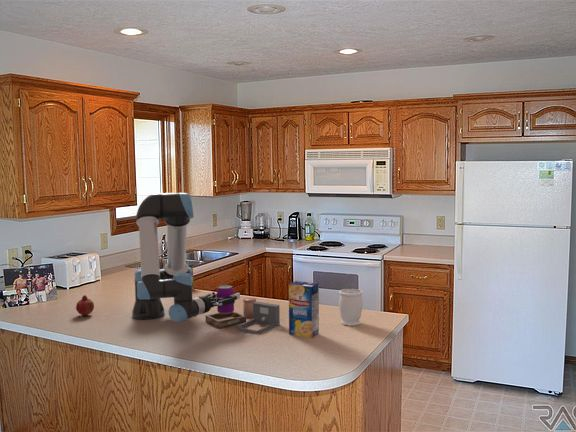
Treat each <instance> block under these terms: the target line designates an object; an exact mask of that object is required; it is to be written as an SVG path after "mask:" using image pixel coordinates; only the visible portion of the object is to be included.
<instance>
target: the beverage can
mask: <svg viewBox="0 0 576 432" xmlns="http://www.w3.org/2000/svg"><path fill="white" fill-rule="evenodd" d="M234 292H235V291H234V288H233V286H232V285H229V284H228V285H227V284H224V285H219V286H217V291H216V293H217V298H224V297H230V295H233V294H235V293H234ZM216 308H217V313H220V314H230V313H232V312H233V311H235V303H233V304H229V305H225V306H222V307H219V306H216Z"/></svg>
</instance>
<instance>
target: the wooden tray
mask: <svg viewBox="0 0 576 432" xmlns="http://www.w3.org/2000/svg"><path fill="white" fill-rule="evenodd" d="M204 317H205V323H207V324H210V325H211V326H213V327H216V328H218V329H224V328H225V329H226V328H229V327H233V326H238V325H240V324H242V323H245V322H247V318H246V316H245V315H244V314H242V313H240V312H237V311H235V310H234V311H233V312H232V313H230V314H220V313H219V312H216V313H212V314H205V316H204Z"/></svg>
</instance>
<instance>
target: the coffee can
mask: <svg viewBox="0 0 576 432" xmlns="http://www.w3.org/2000/svg"><path fill="white" fill-rule="evenodd" d="M186 263H187V264H188V266H189V267H190V268H191V271H192V277H191V278H192V289H193V288H194V268H193V267H194V264H193V262H186Z"/></svg>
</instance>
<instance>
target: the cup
mask: <svg viewBox="0 0 576 432" xmlns="http://www.w3.org/2000/svg"><path fill="white" fill-rule="evenodd" d="M254 302H257V298H255V297H245V298H243V299H242V304H243V305H242V306H243V315H245V316H246V319H247V318H248V319H253V303H254Z"/></svg>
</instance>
